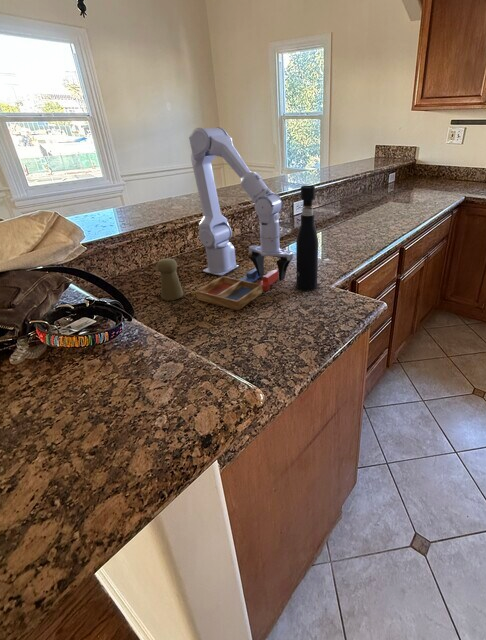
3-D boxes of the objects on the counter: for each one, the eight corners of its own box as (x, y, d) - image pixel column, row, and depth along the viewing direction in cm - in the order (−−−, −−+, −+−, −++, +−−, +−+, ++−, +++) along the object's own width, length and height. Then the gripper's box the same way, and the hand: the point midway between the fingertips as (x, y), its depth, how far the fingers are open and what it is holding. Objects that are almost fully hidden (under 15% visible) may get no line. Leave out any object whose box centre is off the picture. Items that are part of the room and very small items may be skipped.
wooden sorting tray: (223, 283, 110) (222, 275, 109) (262, 292, 104) (262, 284, 103) (196, 299, 100) (195, 291, 99) (238, 310, 95) (237, 301, 93)
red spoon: (270, 277, 115) (270, 268, 114) (282, 279, 113) (281, 270, 112) (252, 289, 106) (251, 280, 105) (264, 292, 105) (264, 283, 103)
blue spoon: (254, 273, 117) (254, 265, 116) (266, 276, 115) (265, 267, 114) (236, 285, 109) (235, 276, 107) (248, 288, 107) (247, 279, 106)
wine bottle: (320, 284, 110) (323, 186, 97) (311, 292, 105) (313, 189, 92) (302, 280, 113) (302, 184, 100) (292, 288, 107) (291, 187, 94)
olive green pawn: (176, 301, 99) (170, 264, 94) (156, 299, 100) (149, 262, 95) (187, 292, 104) (181, 257, 99) (168, 290, 105) (162, 255, 100)
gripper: (241, 236, 105) (244, 277, 110) (284, 243, 99) (285, 286, 105) (254, 230, 110) (257, 270, 116) (296, 236, 105) (296, 278, 111)
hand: (271, 277), depth 111 cm, fingers open, 7 cm apart
